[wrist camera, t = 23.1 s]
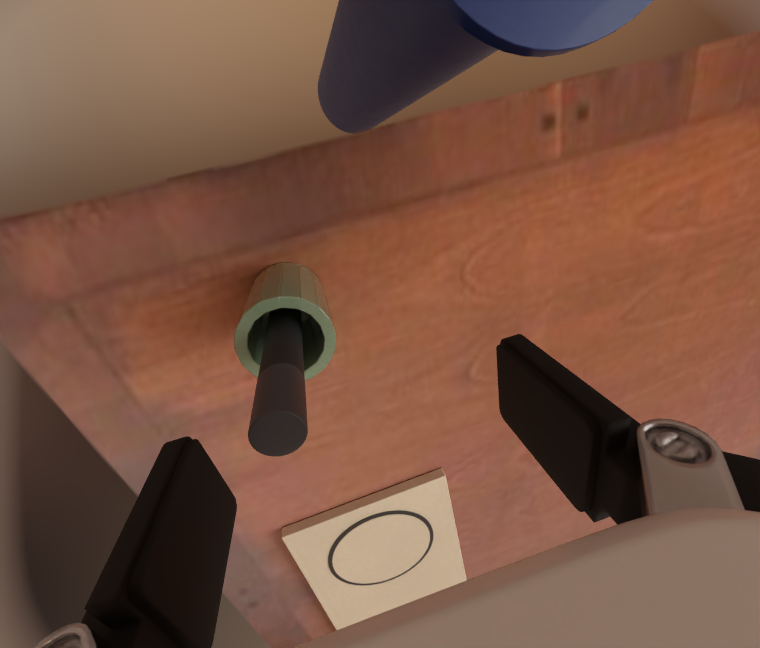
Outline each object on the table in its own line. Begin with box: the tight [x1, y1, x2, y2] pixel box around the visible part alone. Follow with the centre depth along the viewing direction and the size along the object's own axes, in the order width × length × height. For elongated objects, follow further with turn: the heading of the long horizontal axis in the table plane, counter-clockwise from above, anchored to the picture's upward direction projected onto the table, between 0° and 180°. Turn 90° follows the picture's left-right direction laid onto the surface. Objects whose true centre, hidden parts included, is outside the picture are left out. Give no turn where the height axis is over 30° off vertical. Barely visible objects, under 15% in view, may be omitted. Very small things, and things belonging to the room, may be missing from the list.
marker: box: [248, 308, 308, 456], centre depth 16 cm, size 2×2×13 cm
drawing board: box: [282, 468, 467, 630], centre depth 36 cm, size 20×16×1 cm
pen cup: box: [234, 263, 336, 380], centre depth 20 cm, size 5×5×7 cm
